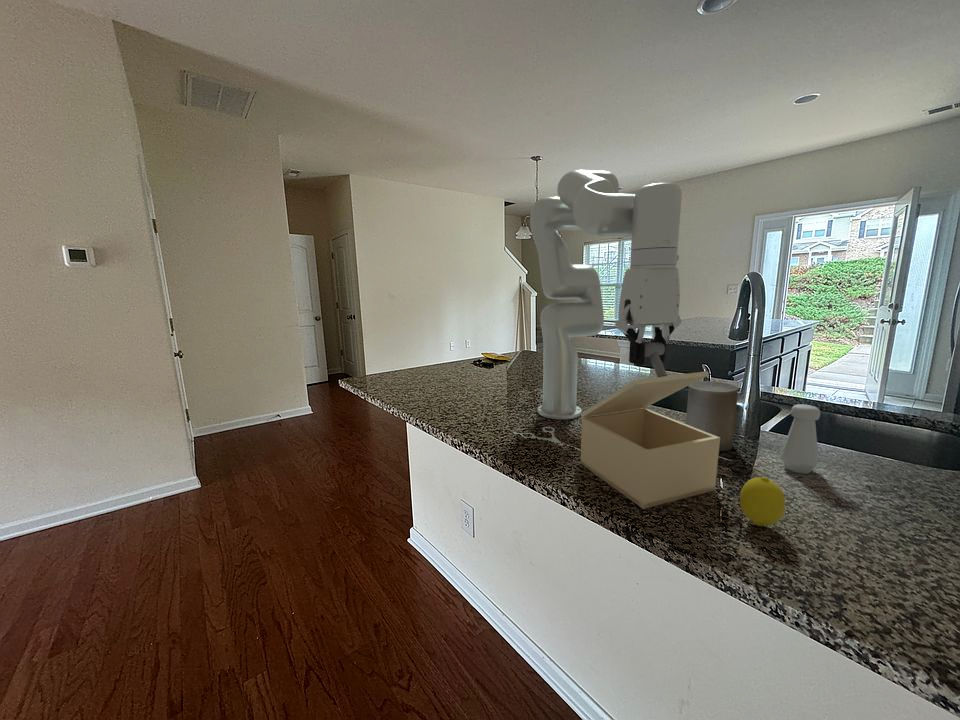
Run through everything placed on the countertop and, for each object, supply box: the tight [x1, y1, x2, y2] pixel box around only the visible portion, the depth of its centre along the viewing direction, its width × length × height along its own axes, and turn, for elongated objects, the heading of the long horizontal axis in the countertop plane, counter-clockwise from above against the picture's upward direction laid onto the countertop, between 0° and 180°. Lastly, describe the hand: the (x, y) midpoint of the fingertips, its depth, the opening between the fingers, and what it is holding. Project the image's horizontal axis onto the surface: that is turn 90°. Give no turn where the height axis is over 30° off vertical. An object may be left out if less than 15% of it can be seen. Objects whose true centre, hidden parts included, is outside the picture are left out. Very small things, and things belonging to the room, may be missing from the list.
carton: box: [580, 407, 720, 510], centre depth 74 cm, size 18×16×10 cm
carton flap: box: [580, 342, 710, 418], centre depth 76 cm, size 18×16×8 cm
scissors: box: [512, 426, 581, 457], centre depth 93 cm, size 11×1×20 cm
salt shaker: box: [780, 403, 821, 475], centre depth 76 cm, size 6×6×13 cm
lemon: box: [739, 476, 786, 527], centre depth 59 cm, size 6×6×8 cm
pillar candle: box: [685, 380, 739, 452], centre depth 89 cm, size 10×10×15 cm
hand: (646, 361), depth 72 cm, fingers closed on carton flap, 4 cm apart
